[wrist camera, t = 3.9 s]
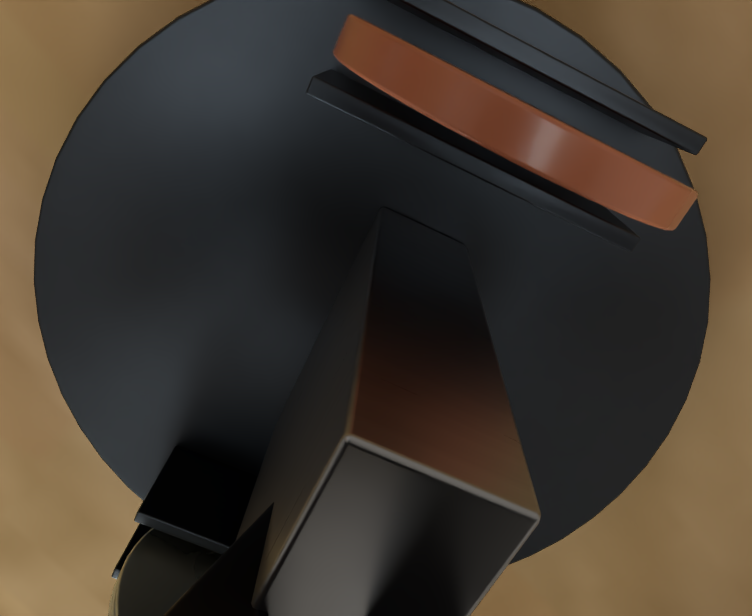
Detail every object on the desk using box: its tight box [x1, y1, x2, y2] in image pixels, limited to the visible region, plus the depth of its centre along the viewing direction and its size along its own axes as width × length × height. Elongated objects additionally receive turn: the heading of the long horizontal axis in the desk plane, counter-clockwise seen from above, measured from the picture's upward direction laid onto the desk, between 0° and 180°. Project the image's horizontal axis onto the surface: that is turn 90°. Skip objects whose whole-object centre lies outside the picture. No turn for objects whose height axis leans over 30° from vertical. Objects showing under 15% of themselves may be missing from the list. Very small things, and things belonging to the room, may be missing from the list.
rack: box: [34, 0, 710, 616], centre depth 11 cm, size 15×15×9 cm
